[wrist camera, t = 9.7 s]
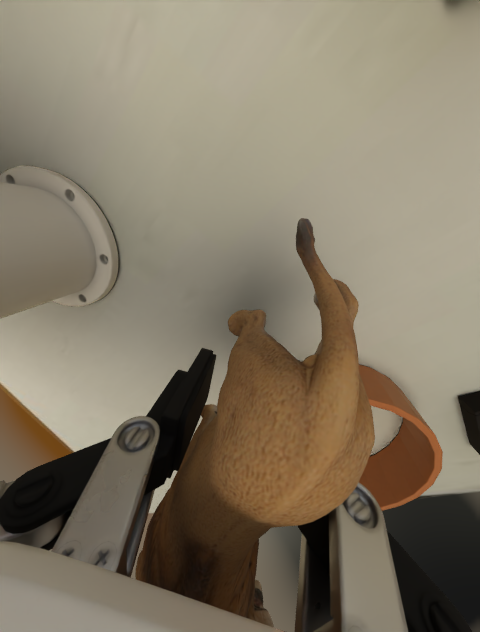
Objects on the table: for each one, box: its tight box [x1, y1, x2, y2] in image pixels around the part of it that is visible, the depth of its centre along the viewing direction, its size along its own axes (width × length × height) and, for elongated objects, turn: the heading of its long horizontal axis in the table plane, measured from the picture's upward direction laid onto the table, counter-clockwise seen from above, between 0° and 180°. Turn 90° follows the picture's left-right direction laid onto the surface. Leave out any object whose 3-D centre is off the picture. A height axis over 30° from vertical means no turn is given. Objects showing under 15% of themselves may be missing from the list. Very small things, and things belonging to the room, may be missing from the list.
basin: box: [359, 365, 442, 511], centre depth 22 cm, size 17×17×5 cm
